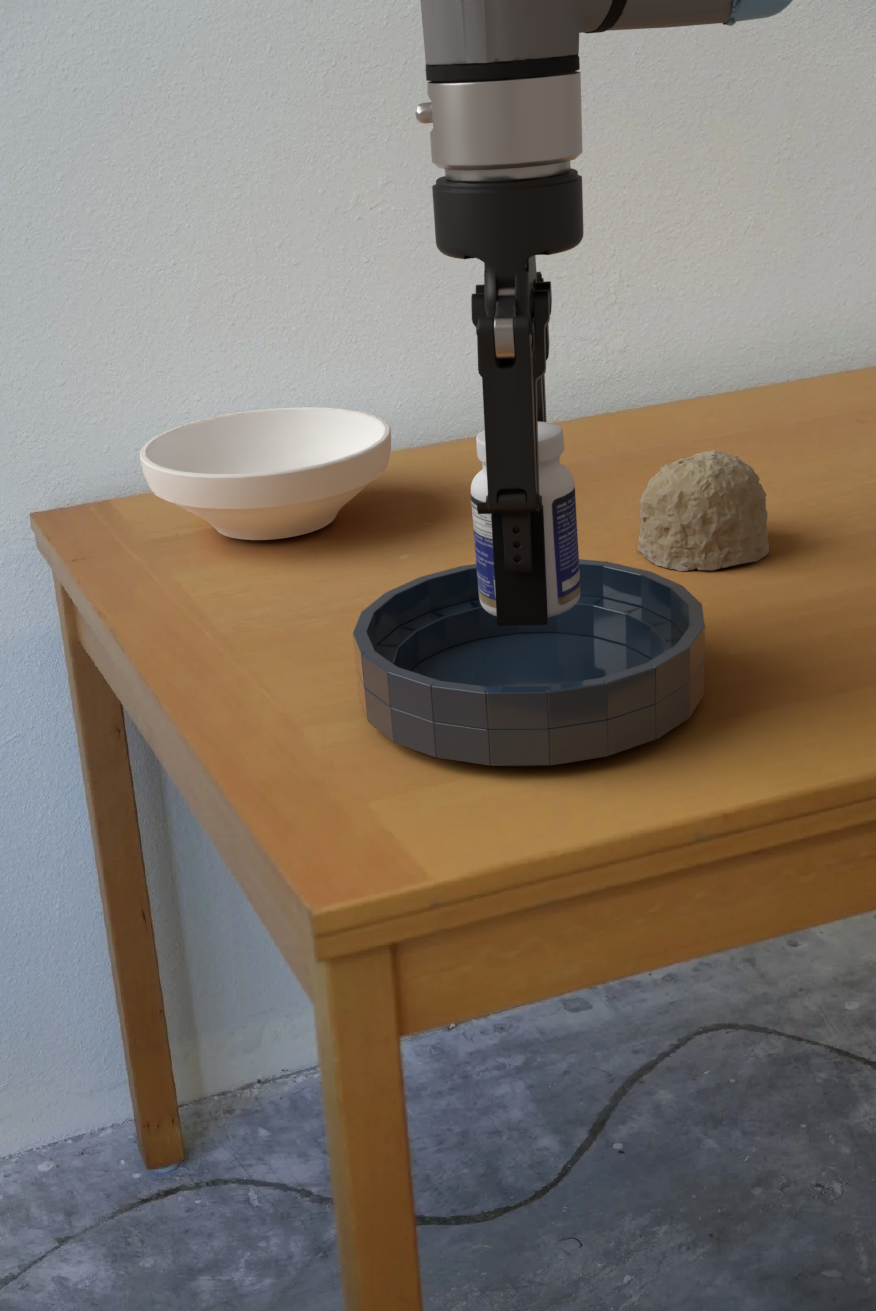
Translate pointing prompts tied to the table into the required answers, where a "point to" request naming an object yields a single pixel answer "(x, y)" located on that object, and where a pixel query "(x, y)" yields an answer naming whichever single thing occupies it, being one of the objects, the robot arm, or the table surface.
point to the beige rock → (704, 514)
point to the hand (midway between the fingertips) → (525, 599)
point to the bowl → (268, 467)
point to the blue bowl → (531, 668)
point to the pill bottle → (557, 525)
